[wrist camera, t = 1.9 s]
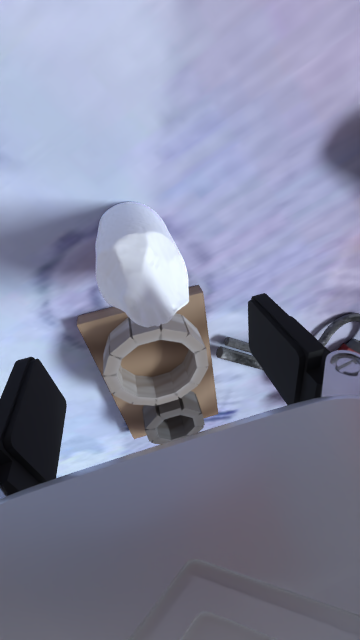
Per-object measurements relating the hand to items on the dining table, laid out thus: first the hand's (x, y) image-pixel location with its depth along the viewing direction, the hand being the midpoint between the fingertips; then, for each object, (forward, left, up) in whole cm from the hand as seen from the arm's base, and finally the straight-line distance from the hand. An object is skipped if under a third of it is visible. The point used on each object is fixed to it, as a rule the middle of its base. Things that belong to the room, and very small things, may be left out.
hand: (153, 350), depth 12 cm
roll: (-1, 0, -14) cm, 14 cm away
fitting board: (+15, -1, -14) cm, 21 cm away
